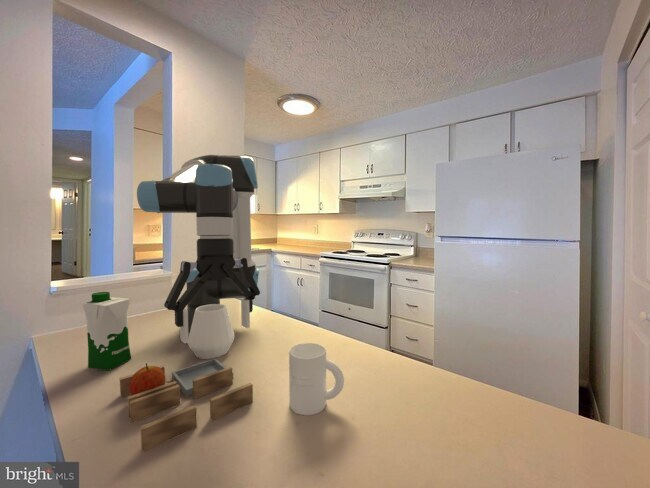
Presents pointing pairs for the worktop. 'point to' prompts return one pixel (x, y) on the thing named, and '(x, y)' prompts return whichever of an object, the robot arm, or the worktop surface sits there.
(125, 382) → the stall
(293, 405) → the mug
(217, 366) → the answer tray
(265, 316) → the worktop surface
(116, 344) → the milk carton
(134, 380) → the fruit
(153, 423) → the stall
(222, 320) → the cup
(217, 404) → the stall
